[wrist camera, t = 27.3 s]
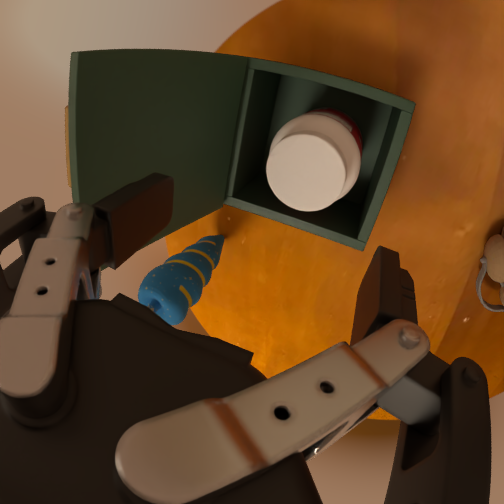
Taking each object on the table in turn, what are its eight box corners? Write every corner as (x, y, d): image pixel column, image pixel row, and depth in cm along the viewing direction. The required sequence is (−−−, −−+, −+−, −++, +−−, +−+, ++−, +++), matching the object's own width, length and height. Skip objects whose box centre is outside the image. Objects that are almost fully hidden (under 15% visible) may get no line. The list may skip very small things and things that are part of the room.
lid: (78, 51, 9) (36, 56, 11) (90, 277, 16) (48, 236, 18) (248, 57, 18) (188, 50, 20) (223, 207, 25) (173, 183, 27)
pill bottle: (341, 185, 28) (324, 241, 19) (283, 151, 28) (238, 191, 20) (375, 129, 24) (379, 157, 16) (313, 93, 25) (279, 101, 16)
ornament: (239, 261, 38) (173, 352, 26) (200, 249, 39) (125, 329, 27) (243, 222, 35) (169, 309, 23) (201, 211, 36) (116, 286, 24)
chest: (403, 97, 23) (416, 103, 16) (366, 211, 29) (362, 251, 23) (277, 61, 25) (245, 56, 19) (254, 174, 32) (221, 203, 25)
